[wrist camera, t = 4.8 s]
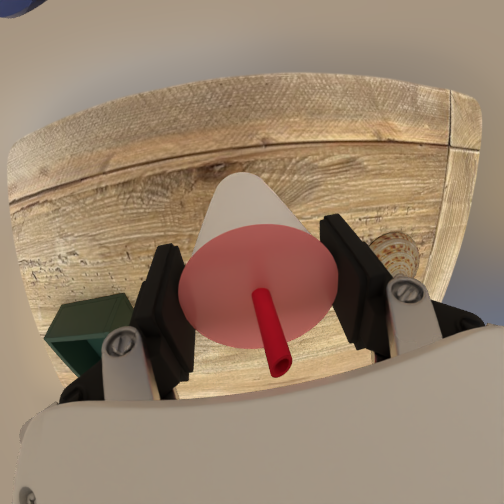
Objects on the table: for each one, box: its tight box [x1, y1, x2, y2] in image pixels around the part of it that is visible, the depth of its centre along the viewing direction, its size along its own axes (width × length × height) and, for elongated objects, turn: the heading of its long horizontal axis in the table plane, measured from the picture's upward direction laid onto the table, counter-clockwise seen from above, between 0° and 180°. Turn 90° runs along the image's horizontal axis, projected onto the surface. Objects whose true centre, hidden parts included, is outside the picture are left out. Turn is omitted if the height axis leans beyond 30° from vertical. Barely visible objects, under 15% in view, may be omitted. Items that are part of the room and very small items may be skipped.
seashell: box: [369, 233, 419, 278], centre depth 32 cm, size 8×6×8 cm
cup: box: [178, 172, 338, 378], centre depth 11 cm, size 5×5×12 cm
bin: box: [44, 293, 134, 377], centre depth 32 cm, size 12×12×7 cm
